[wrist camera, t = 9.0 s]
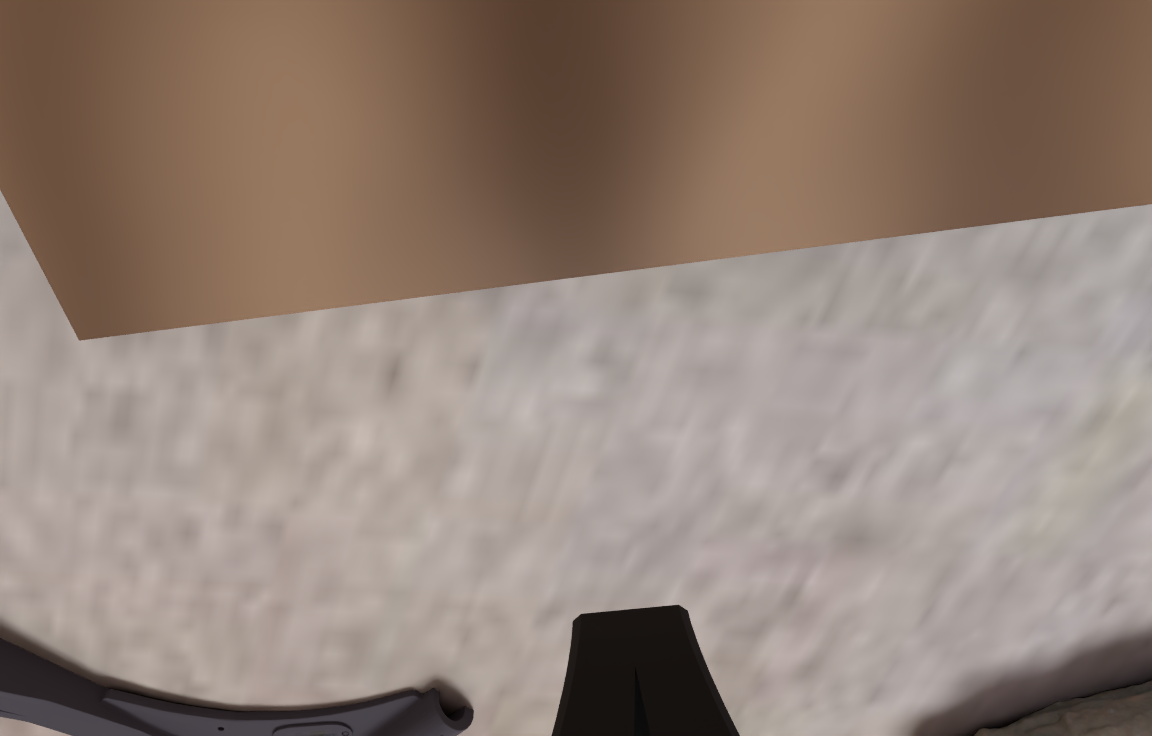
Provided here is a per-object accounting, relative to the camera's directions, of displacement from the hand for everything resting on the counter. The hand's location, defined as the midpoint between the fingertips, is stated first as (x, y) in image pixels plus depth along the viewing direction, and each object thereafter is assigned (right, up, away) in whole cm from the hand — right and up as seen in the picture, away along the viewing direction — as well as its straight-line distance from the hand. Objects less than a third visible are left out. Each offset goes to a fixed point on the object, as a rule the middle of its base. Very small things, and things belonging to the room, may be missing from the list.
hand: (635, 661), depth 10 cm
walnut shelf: (0, +10, +4) cm, 11 cm away
